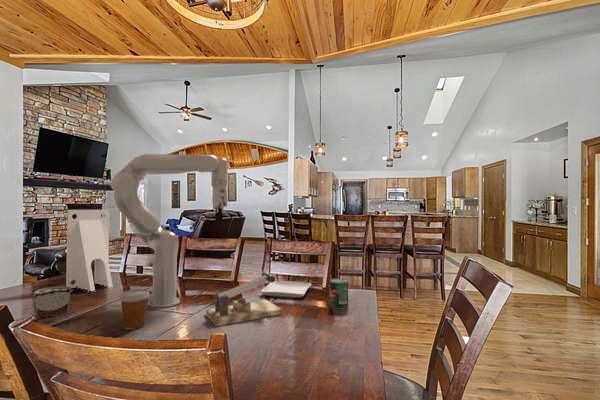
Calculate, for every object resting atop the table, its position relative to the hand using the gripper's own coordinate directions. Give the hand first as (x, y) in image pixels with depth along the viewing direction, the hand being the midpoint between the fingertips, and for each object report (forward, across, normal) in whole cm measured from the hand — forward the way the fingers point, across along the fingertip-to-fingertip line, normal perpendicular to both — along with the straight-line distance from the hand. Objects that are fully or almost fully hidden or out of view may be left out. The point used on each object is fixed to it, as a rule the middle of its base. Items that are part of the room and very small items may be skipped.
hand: (218, 221), depth 158 cm
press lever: (+25, -35, -1) cm, 43 cm away
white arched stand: (+35, +41, +52) cm, 75 cm away
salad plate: (+36, -15, -30) cm, 49 cm away
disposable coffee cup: (+35, -28, +38) cm, 59 cm away
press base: (+35, -35, 0) cm, 50 cm away
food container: (+35, +2, +65) cm, 74 cm away
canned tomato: (+35, -45, -39) cm, 69 cm away
